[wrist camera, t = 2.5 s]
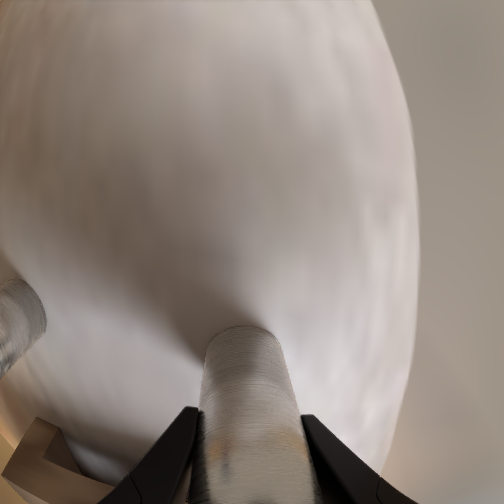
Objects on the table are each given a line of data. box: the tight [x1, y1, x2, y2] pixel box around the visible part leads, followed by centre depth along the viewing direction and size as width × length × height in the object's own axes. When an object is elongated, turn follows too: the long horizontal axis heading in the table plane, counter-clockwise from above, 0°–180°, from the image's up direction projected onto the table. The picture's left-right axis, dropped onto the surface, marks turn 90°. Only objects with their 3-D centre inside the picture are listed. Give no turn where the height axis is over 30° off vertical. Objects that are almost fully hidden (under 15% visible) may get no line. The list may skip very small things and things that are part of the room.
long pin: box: [188, 326, 324, 504], centre depth 7 cm, size 3×3×9 cm
